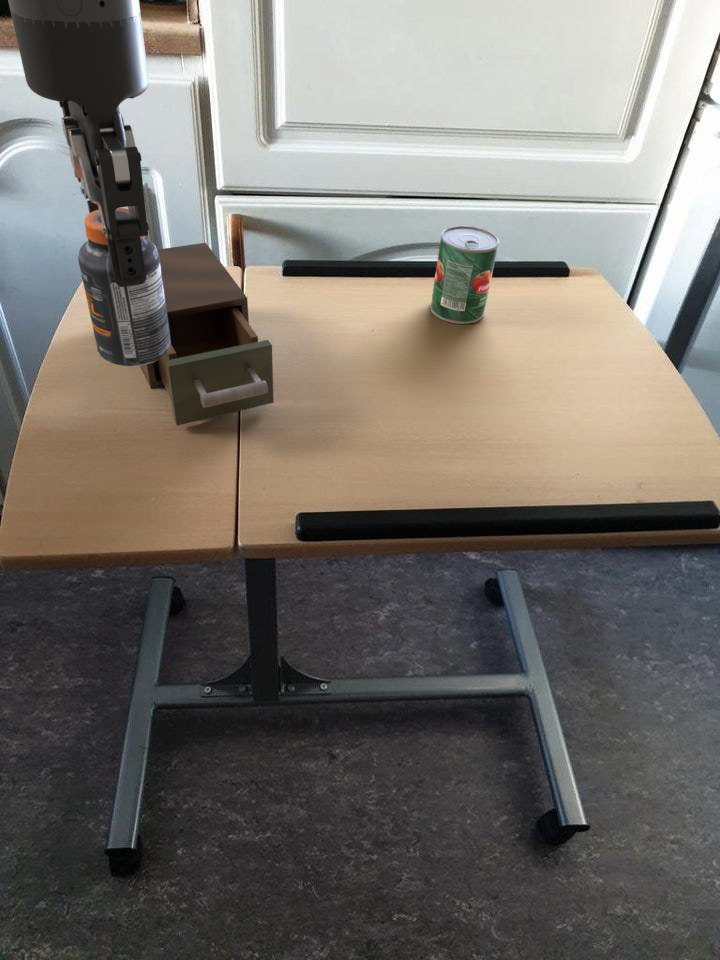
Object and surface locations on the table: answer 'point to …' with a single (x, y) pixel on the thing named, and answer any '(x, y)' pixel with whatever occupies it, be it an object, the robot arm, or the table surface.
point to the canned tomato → (463, 274)
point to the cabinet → (194, 288)
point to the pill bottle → (123, 301)
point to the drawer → (215, 365)
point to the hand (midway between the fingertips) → (120, 263)
